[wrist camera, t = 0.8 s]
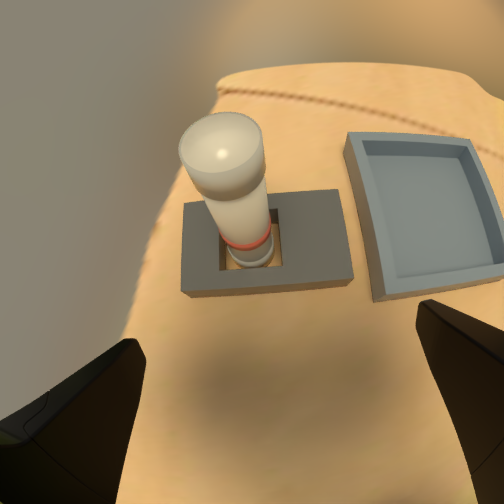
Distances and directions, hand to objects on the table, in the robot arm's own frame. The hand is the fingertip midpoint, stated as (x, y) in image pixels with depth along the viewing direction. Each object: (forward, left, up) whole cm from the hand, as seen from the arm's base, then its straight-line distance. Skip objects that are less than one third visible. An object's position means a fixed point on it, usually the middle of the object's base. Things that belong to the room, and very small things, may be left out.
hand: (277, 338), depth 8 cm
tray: (+10, -14, -13) cm, 22 cm away
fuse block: (+8, +1, -13) cm, 15 cm away
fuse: (+8, +2, -13) cm, 15 cm away
